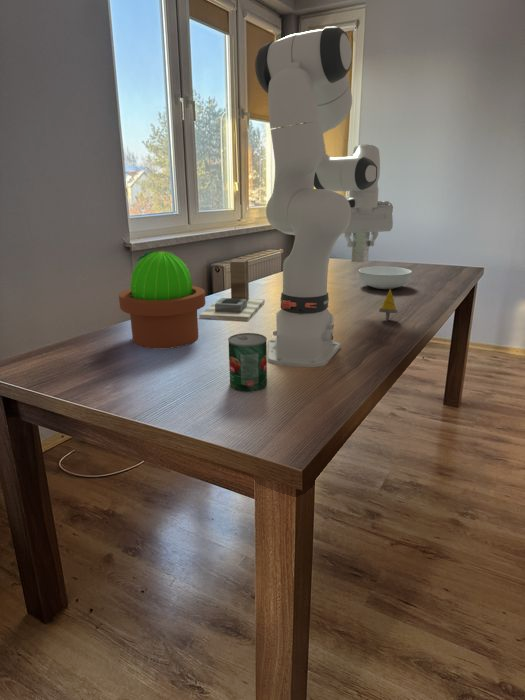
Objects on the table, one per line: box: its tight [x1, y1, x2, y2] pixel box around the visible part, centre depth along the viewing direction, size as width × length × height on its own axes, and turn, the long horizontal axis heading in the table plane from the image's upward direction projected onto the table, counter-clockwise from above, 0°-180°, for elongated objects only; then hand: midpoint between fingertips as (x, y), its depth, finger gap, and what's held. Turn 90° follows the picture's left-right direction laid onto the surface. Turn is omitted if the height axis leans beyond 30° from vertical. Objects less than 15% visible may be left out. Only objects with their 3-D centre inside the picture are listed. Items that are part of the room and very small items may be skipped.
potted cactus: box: [118, 250, 206, 349], centre depth 129 cm, size 22×22×25 cm
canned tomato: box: [227, 332, 268, 393], centre depth 100 cm, size 8×8×11 cm
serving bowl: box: [358, 266, 413, 290], centre depth 195 cm, size 21×21×7 cm
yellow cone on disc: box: [378, 289, 398, 322], centre depth 148 cm, size 5×5×10 cm
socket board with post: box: [198, 259, 266, 322], centre depth 160 cm, size 24×16×16 cm, turn 168°
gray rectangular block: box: [351, 230, 371, 263], centre depth 155 cm, size 4×4×10 cm
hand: (360, 246), depth 155 cm, fingers closed on gray rectangular block, 6 cm apart
